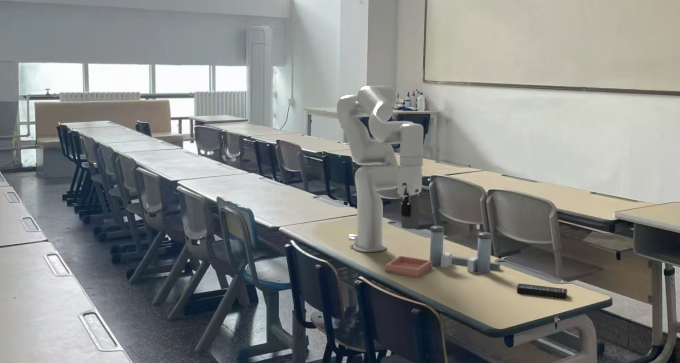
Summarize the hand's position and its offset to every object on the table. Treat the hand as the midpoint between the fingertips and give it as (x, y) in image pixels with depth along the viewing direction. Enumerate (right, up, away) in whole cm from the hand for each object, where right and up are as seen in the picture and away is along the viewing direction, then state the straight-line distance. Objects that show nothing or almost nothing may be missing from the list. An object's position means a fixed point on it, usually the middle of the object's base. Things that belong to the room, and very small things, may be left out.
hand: (410, 213), depth 228 cm
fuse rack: (+18, -19, +7) cm, 27 cm away
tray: (0, -19, +4) cm, 20 cm away
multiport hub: (+38, -24, -20) cm, 49 cm away
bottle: (0, -5, +1) cm, 5 cm away
